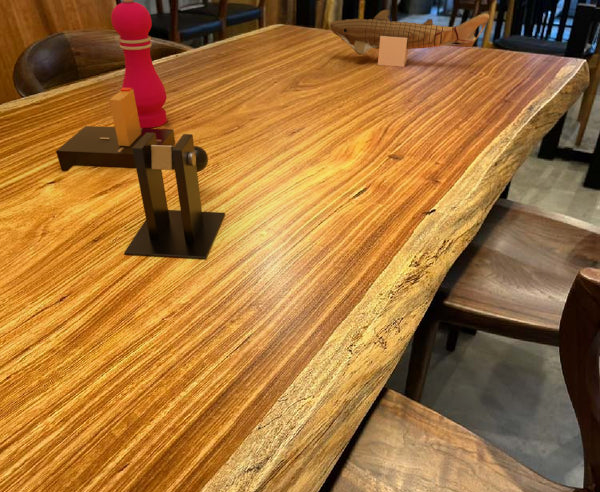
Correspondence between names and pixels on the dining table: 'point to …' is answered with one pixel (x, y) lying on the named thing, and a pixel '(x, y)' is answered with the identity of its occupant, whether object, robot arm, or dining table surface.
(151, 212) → the bracket
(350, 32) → the wood carving
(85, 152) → the plate
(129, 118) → the block
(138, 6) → the pepper mill
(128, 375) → the dining table surface
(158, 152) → the latch lever
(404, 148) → the dining table surface
